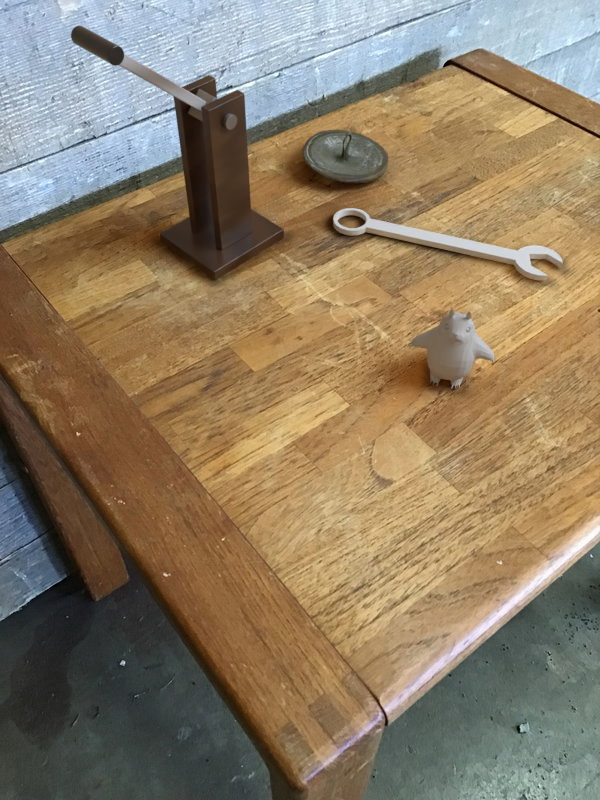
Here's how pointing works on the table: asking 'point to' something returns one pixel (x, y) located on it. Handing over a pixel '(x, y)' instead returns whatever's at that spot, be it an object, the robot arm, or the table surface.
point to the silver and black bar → (138, 68)
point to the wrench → (453, 243)
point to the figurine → (452, 348)
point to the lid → (345, 156)
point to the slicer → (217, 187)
